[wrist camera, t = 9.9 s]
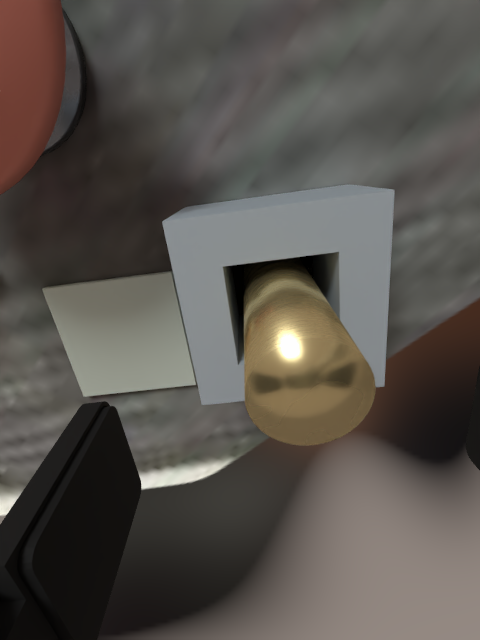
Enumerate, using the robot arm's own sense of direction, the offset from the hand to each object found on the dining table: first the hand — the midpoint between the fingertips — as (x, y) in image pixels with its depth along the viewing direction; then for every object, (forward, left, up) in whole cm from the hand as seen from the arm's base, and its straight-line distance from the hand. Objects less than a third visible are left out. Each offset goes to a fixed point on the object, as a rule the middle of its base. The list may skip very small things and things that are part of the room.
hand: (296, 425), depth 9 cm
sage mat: (+9, +3, -13) cm, 16 cm away
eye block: (-1, 0, -13) cm, 13 cm away
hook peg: (-1, 0, -13) cm, 13 cm away
